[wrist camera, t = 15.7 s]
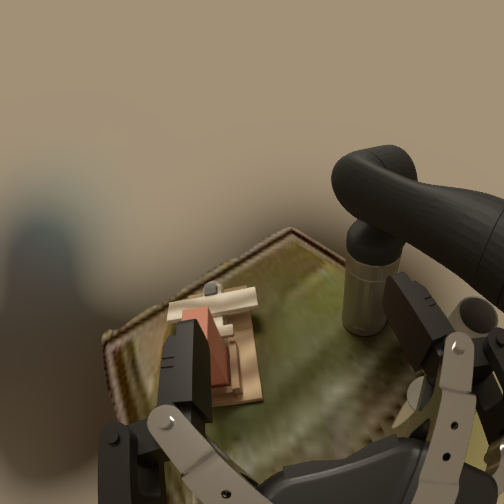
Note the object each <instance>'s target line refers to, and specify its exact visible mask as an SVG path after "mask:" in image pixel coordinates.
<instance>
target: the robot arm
mask: <svg viewBox="0 0 504 504" xmlns="http://www.w3.org/2000/svg"><path fill="white" fill-rule="evenodd" d="M331 182H332V188H333V191H334V193H335V195H336V197H337V199H338V201H339V202H340V203H341V205H342V206H343V207H344V208H345V209H346V210H347V211H348V212H349V213H350V214H352V215H353V216H354V217H355V218H357V219H358V220H357V221H356V222H354V223H353V224H352V226H351V227H350V228H349V230H348V233H347V240H346V241H347V242H346V268H345V285H344V299H343V310H342V322H343V324H344V326H345V327H346V329H347V330H349V331H350V332H351V333H353V334H356V335H359V336H371V335H374V334H376V333H378V332H380V331H381V330H382V329H383V328H384V326H385V323H386V320H388V321H389V323H390V325H391V327H392V329H393V331H394V332H395V334H396V336H397V338H398V340H399V342H400V344H401V346H402V348H403V350H404V352H405V353H406V355H407V357H408V359H409V361H410V363H411V365H412V367H413V369H414V372H417V371H419V370H422V369H424V371H425V375H424V378H423V382H422V387H421V391H420V395H419V399H418V403H417V407H416V411H415V414H414V416H413V418H412V420H411V422H410V424H409V426H408V429H407V431H406V434H405V437H399V438H397V435H396V434H393V435H391V436H389V437H386V438H383V439H381V440H378V441H376V442H373V443H370V444H369V445H367V446H365V447H364V448H362V449H361V450H359V451H357V452H356V453H354V454H352V455H351V456H349V457H347V458H345V459H341V460H320V461H308V462H304V463H299V464H294V465H289V466H283V471H280V472H278V473H276V474H274V475H272V476H271V477H269V478H268V479H267V480H265V481H264V482H263V483H262V484H261V485H260V484H259V483H258V482H257V481H256V480H254V479H253V478H252V477H251V476H250V475H249V474H247V473H246V472H245V471H244V470H243V469H242V468H240V467H239V466H238V465H237V464H236V463H234V462H233V461H232V460H231V459H230V458H229V457H228V456H227V455H226V454H225V453H224V452H223V451H222V450H221V449H220V448H219V447H218V446H217V445H216V444H215V443H214V442H213V441H212V440H211V439H210V438H209V437H208V436H207V435H206V434H205V423H213V416H212V394H211V363H210V348H209V344H208V341H207V338H206V336H205V334H204V332H203V330H202V328H201V326H200V324H199V322H198V320H197V319H190V320H184V321H178V323H177V329H176V335H171V336H168V338H167V340H166V342H165V343H164V345H163V349H162V360H161V369H160V378H159V389H158V401H157V406H156V408H155V409H154V410H153V411H152V412H151V413H150V415H149V417H147V418H146V419H144V420H141V421H138V422H135V423H132V424H129V425H126V426H125V425H124V424H122V423H120V422H116V421H114V422H109V423H108V424H106V425H105V426H104V427H103V428H102V430H101V432H100V436H99V452H98V453H99V454H98V504H167V496H166V485H165V473H164V462H166V461H169V460H171V461H172V462H173V463H174V465H175V466H176V467H177V468H178V469H179V471H180V472H181V474H182V475H181V477H182V479H183V481H184V482H185V484H186V485H187V486H188V487H189V488H190V490H191V491H192V492H193V493H194V494H195V495H196V496H197V497H198V498H199V499H200V500H201V501H202V502H203V503H204V504H496V502H497V498H498V496H499V495H500V494H501V493H503V492H504V329H502V328H498V327H497V328H493V329H492V330H491V331H490V332H489V334H488V335H487V337H479V338H470V337H469V336H468V335H466V334H465V333H462V332H456V331H455V329H454V328H453V326H452V325H451V323H450V322H449V320H448V319H447V317H446V316H445V314H444V313H443V312H442V310H441V309H440V307H439V306H438V305H437V304H436V302H435V300H434V299H433V298H432V297H431V295H430V294H429V292H428V290H427V289H426V288H425V287H424V286H423V285H421V284H420V283H418V282H417V281H413V282H412V281H411V280H410V278H409V277H408V276H407V274H406V273H404V272H401V273H398V270H399V265H400V260H401V254H402V249H403V246H404V245H405V243H406V242H407V243H409V244H411V245H412V246H414V247H415V248H417V249H419V250H420V251H422V252H423V253H425V254H426V255H428V256H430V257H431V258H433V259H434V260H436V261H437V262H439V263H440V264H442V265H443V266H445V267H446V268H448V269H449V270H451V271H452V272H453V273H455V274H456V275H458V276H459V277H460V278H461V279H463V280H464V281H465V282H466V283H468V284H469V285H470V286H471V287H472V288H474V290H476V291H477V292H478V293H479V294H481V295H482V296H483V297H485V298H486V299H487V300H488V301H489V302H491V303H492V304H493V305H494V306H496V307H497V308H498V309H500V310H501V311H502V312H503V313H504V199H501V198H499V197H496V196H493V195H490V194H487V193H483V192H478V191H473V190H467V189H461V188H454V187H446V186H438V185H431V184H425V183H421V182H418V179H417V173H416V169H415V166H414V163H413V161H412V159H411V158H410V156H409V155H408V154H407V153H406V152H405V151H404V150H403V149H401V148H400V147H397V146H394V145H383V146H377V147H373V148H368V149H363V150H358V151H354V152H352V153H349V154H347V155H345V156H343V157H342V158H341V159H340V160H338V162H337V163H336V164H335V166H334V168H333V171H332V175H331ZM493 371H494V372H495V374H496V376H497V379H498V381H499V383H500V385H501V387H502V390H503V395H502V393H501V390H500V388H499V386H498V384H497V382H496V379H495V378H494V375H493V373H492V372H493ZM475 408H476V410H477V413H478V415H479V418H480V421H481V424H482V426H483V429H484V432H485V435H486V438H487V441H488V444H489V447H488V450H487V453H486V454H485V456H484V461H485V463H487V468H486V471H485V472H484V471H482V470H480V469H478V468H476V467H473V466H471V465H469V464H467V463H465V462H464V460H465V456H466V452H467V449H468V444H469V440H470V435H471V431H472V425H473V419H474V414H475Z"/></svg>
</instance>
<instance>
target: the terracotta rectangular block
mask: <svg viewBox="0 0 504 504" xmlns="http://www.w3.org/2000/svg"><path fill="white" fill-rule="evenodd" d="M190 319H197V320H198V322H199V324H200V326H201V328H202V330H203V332H204V334H205V336H206V338H207V341H208V344H209V348H210V363H211V388H218V387H226V386H232V383H231V368H230V356H229V354H228V351H227V349H226V347H225V345H224V342H223V340H222V338H221V336H220V333H219V331H218V329H217V326H216V324H215V322H214V319H213V317H212V315H211V312H210V310H209V308H208V306H205V307H199V308H193V309H187V310H182V320H181V321H184V320H190Z"/></svg>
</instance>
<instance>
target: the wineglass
mask: <svg viewBox="0 0 504 504" xmlns="http://www.w3.org/2000/svg"><path fill="white" fill-rule="evenodd" d="M448 320H449V322H450V323H451V325H452V326H453V328H454V329H455V331H456V332H462V333H465V334H466V335H468V336H469V337H470V338H479V337H487V335H488V334H489V332H490V331H491V330H492V329H493V328H497V325H498V315H497V313H496V310H495V309H494V307H493V306H492V305H491V304H490V303H489V302H488V301H487V300H485V299H483V298H481V297H478V296H469V297H466V298H464V299H463V300H462V301H461V302H460V303H459V304H458V305H457V307H456V309H455V310H454V311H453V312H452V313H451V315H450V317H449V318H448ZM423 378H424V376H422V377H419V378H417V379H415V380H414V381H413V382H412V383H411V384H410V386H409V388H408V390H407V401H408V403H409V405H410V407H411V408H412V409H413V410H415V411H416V407H417V403H418V399H419V395H420V391H421V387H422V382H423Z"/></svg>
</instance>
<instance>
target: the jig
mask: <svg viewBox="0 0 504 504" xmlns="http://www.w3.org/2000/svg"><path fill="white" fill-rule="evenodd" d="M205 306H208V308H209V310H210V312H211V315H212V317H213V319H214V322H215V324H216V326H217V329H218V331H219V333H220V336H221V338H222V340H223V342H224V345H225V347H226V349H227V351H228V354H229V356H230V368H231V383H232V386H226V387H218V388H211V394H212V407H219V406H228V405H236V404H243V403H250V402H256V401H262V400H263V395H262V388H261V381H260V374H259V367H258V360H257V353H256V346H255V339H254V332H253V325H252V317H251V310H252V309H257V308H258V302H257V296H256V290H255V287H251V288H247V285H245V286H240V287H235V288H230V289H224V287H223V284H222V283H221V282H219V281H210V282H208V283H207V284H205V287H204V289H203V294H198V295H192V296H188V299H187V300H182V301H176V302H170V303H169V309H168V316H167V322H168V323H169V324H171V323H177V322H178V321H181V320H182V310H187V309H193V308H199V307H205Z"/></svg>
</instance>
